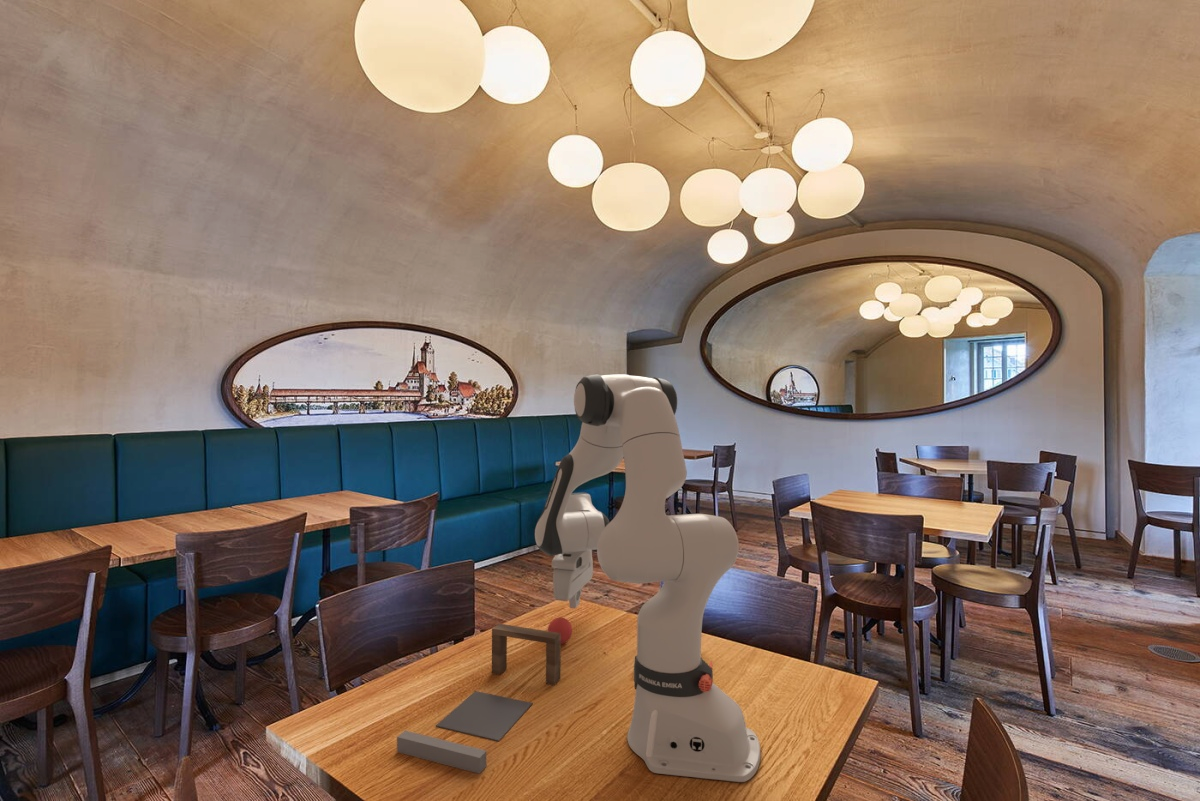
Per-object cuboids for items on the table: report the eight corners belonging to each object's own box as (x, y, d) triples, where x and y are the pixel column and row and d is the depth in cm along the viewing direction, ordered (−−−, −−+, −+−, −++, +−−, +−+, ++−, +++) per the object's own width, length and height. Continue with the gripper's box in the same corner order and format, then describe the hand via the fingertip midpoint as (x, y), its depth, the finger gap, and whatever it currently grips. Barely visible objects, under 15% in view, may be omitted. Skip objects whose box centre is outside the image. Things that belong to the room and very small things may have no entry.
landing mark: (532, 703, 109) (532, 702, 109) (498, 741, 97) (498, 740, 97) (475, 691, 113) (475, 690, 113) (435, 726, 101) (435, 725, 101)
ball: (575, 639, 139) (576, 615, 139) (566, 649, 133) (566, 624, 133) (553, 636, 141) (554, 612, 141) (543, 645, 135) (543, 621, 135)
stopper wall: (486, 766, 90) (486, 750, 90) (479, 773, 88) (479, 757, 88) (404, 745, 95) (405, 730, 95) (397, 751, 94) (397, 736, 94)
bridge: (498, 667, 124) (499, 623, 124) (560, 678, 119) (560, 633, 119) (491, 673, 121) (491, 628, 121) (554, 685, 116) (554, 638, 116)
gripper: (577, 543, 157) (576, 592, 157) (548, 563, 138) (548, 619, 138) (598, 545, 155) (598, 594, 155) (572, 565, 136) (572, 622, 136)
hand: (574, 606), depth 146 cm, fingers closed
